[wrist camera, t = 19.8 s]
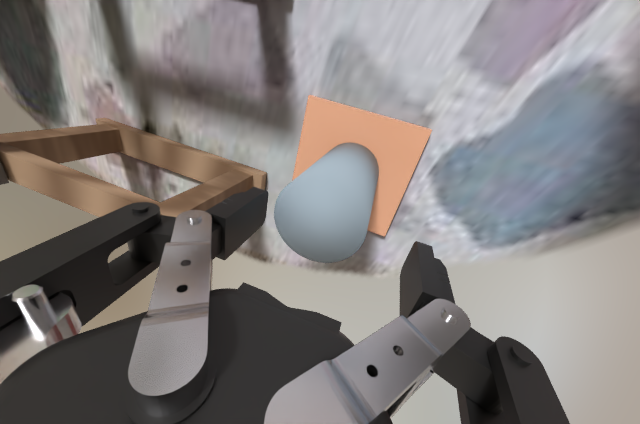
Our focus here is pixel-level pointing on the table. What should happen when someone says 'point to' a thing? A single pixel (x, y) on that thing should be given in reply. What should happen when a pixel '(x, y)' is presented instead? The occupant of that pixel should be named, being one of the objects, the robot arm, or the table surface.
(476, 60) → the table surface
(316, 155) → the terracotta tile
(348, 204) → the grey-blue cylinder
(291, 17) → the table surface
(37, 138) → the gantry
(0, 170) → the bar
